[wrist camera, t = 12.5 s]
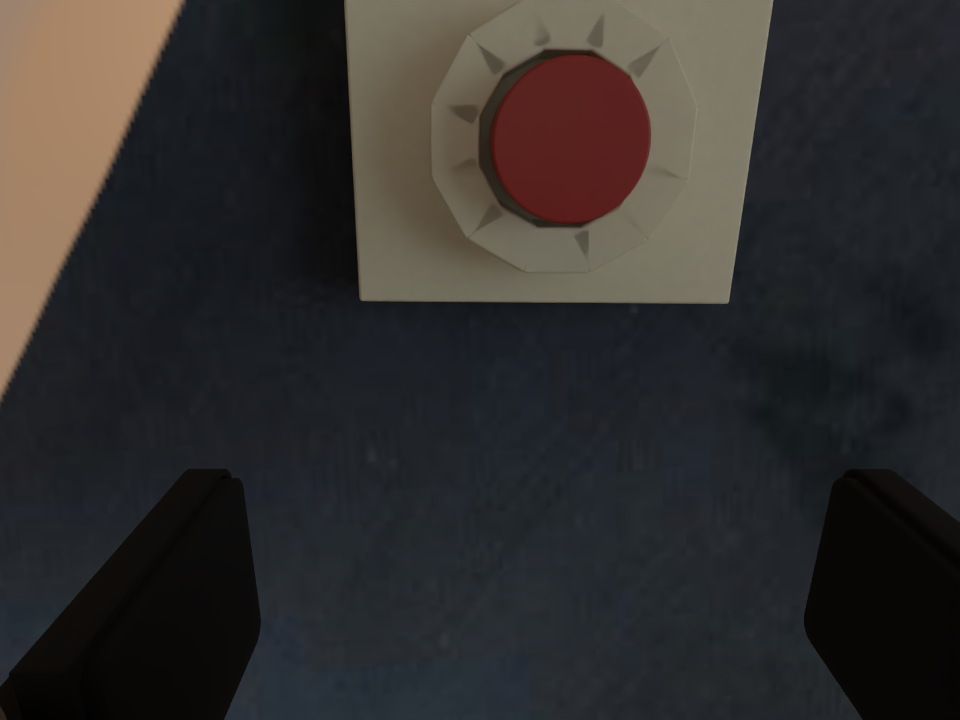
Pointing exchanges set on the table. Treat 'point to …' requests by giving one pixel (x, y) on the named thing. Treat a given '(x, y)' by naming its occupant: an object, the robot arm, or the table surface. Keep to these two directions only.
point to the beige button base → (468, 167)
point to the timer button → (570, 139)
